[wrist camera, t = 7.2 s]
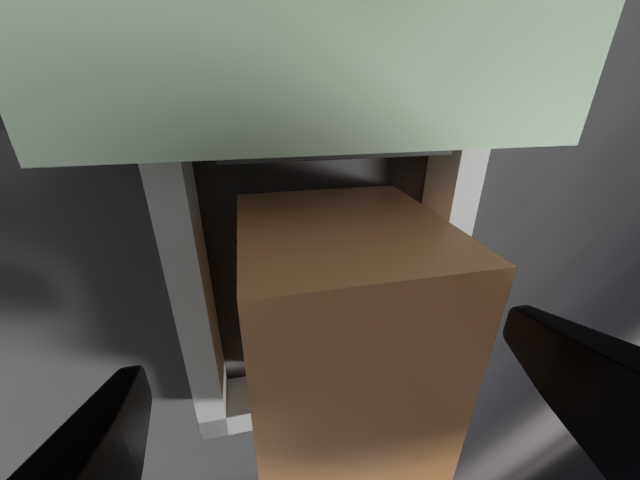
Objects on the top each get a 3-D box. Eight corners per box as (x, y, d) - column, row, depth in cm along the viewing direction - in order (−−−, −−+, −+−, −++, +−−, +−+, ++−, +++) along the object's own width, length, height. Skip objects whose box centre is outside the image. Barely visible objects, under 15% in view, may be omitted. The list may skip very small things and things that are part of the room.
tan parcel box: (375, 340, 12) (452, 481, 8) (254, 359, 11) (265, 531, 7) (392, 184, 10) (517, 266, 5) (236, 193, 9) (236, 301, 5)
